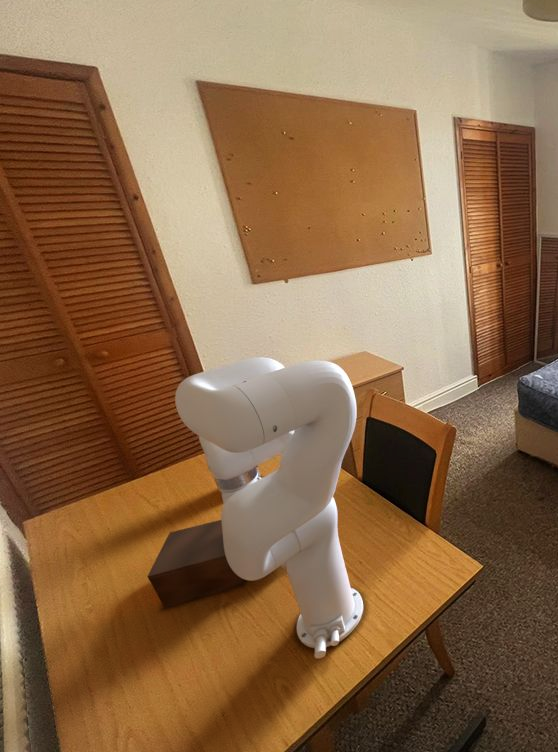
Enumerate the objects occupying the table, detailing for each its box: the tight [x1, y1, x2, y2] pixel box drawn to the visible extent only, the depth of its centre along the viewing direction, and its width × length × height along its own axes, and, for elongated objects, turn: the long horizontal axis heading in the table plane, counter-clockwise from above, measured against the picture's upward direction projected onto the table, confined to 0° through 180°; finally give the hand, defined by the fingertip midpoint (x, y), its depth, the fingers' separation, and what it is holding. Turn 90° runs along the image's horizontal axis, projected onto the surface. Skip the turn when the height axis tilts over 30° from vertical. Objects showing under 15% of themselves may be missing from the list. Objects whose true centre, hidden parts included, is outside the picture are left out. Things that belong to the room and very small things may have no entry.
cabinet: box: [147, 519, 245, 609], centre depth 91 cm, size 15×13×10 cm
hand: (258, 537), depth 94 cm, fingers closed on block, 4 cm apart
